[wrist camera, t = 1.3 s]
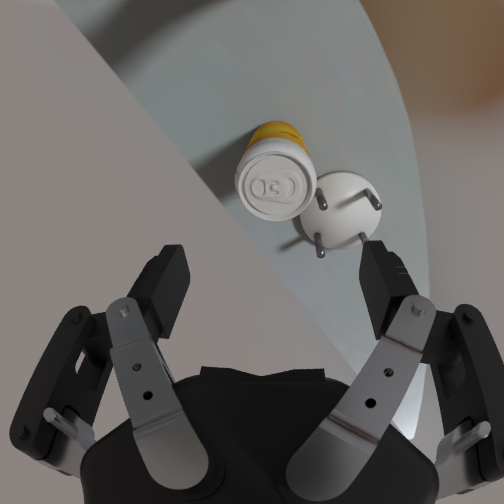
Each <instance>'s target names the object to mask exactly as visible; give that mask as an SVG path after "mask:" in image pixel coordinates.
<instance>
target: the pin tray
mask: <svg viewBox="0 0 504 504" xmlns="http://www.w3.org/2000/svg"><path fill="white" fill-rule="evenodd" d="M381 208H382V205H381V202H380V198H379V196H378V194H377V192H376V190H375V189H374V187H373V186H372V185H371V184H370V183H369V182H368V181H367V180H366V179H365V178H364V177H362V176H360V175H358V174H356V173H353V172H349V171H334V172H330V173H327V174H324V175H322V176H320V177H319V178H317V187H316V192H315V194H314V197H313V199H312V201H311V202H310V204H309V205H308V206H307V207H306V208H305V209H304V210H303V211H302V212H301V213H300V220H301V224H302V227H303V229H304V231H305V233H306V234H307V236H308V237H309V238H310V239H311V240H312V241H314V242H315V247H316V252H317V257H318V258H323V257H324V256H325V251H324V247H325V248H329V249H337V250H340V249H347V248H351V247H354V246H356V245H359V244H360V243H362V244H363V245H364V242H365V241H369V240H368V237H370V236H371V234H372V233H373V232H374V230H375V229H376V227H377V225H378V223H379V220H380V216H381Z"/></svg>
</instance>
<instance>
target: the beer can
mask: <svg viewBox="0 0 504 504" xmlns="http://www.w3.org/2000/svg"><path fill="white" fill-rule="evenodd" d="M316 187H317V177H316V172H315V169H314V167H313V164H312V162H311V159H310V157H309V154H308V152H307V149H306V147H305V145H304V142H303V140H302V137H301V135H300V133H299V132H298V131H297V129H296V128H295V127H293V126H292V125H290V124H288V123H286V122H283V121H270V122H267V123H265V124H263V125H261V126H260V127H259V128H258V129H257V130H256V131H255V133H254V134H253V136H252V138H251V140H250V142H249V144H248V146H247V148H246V150H245V152H244V154H243V156H242V158H241V160H240V163H239V165H238V167H237V169H236V173H235V188H236V192H237V195H238V197H239V199H240V200H241V202H242V203H243V204H244V206H245V207H246V208H247V210H248V211H250V212H251V213H252V214H253V215H255V216H257V217H258V218H261V219H263V220H267V221H274V222H278V221H285V220H289V219H291V218H294V217H296V216H297V215H299V214H300V213H301V212H302V211H303V210H304V209H305V208H306V207H307V206H308V205H309V204H310V202H311V201H312V199H313V197H314V194H315V192H316Z"/></svg>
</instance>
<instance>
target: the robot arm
mask: <svg viewBox="0 0 504 504" xmlns="http://www.w3.org/2000/svg"><path fill="white" fill-rule="evenodd" d="M359 280H360V285H361V288H362V291H363V295H364V298H365V301H366V305H367V308H368V312H369V315H370V319H371V323H372V326H373V330H374V334H375V338H376V340H379V342H378V344H377V345H376V347H375V349H374V350H373V352H372V354H371V355H370V357H369V359H368V360H367V362H366V363H365V365H364V366H363V368H362V369H361V371H360V373H359V374H358V376H357V377H356V379H355V380H354V382H353V383H352V384H351V386H348V385H346V384H344V383H342V382H340V381H337V380H334V379H331V378H327V377H325V373H324V369H294V370H289V371H285V372H281V373H276V374H271V375H266V376H257V375H253V374H250V373H246V372H242V371H238V370H235V369H231V368H217V367H204V366H202V367H201V371H200V375H195V376H191V377H188V378H185V379H182V380H180V381H178V382H175V380H174V378H173V376H172V374H171V372H170V370H169V368H168V366H167V364H166V361H165V359H164V357H163V355H162V353H161V351H160V348H159V346H158V345H157V342H158V339H159V338H165V339H169V337H170V334H171V331H172V328H173V326H174V323H175V320H176V318H177V315H178V313H179V310H180V308H181V305H182V302H183V300H184V297H185V295H186V292H187V289H188V287H189V283H190V272H189V268H188V264H187V260H186V256H185V252H184V249H183V247H182V245H165V246H164V247H163V249H162V250H161V252H160V254H159V255H158V256H154V257H153V258H152V259H151V260H150V261H148V262H147V264H146V265H145V267H144V268H143V271H142V272H141V273H140V275H139V278H137V280H136V281H135V283H134V285H133V286H132V288H131V290H130V292H129V293H128V295H127V297H124V298H120V299H118V300H116V301H114V302H113V303H111V304H110V305H109V307H108V308H107V310H106V312H103V313H97V314H91V312H90V310H89V309H88V308H87V307H86V306H77V307H74V308H72V309H71V310H70V311H68V312H67V314H66V315H65V316H64V318H63V319H62V321H61V323H60V325H59V326H58V328H57V330H56V331H55V333H54V335H53V337H52V338H51V340H50V342H49V344H48V346H47V348H46V350H45V351H44V353H43V355H42V357H41V359H40V361H39V363H38V365H37V367H36V369H35V371H34V373H33V375H32V377H31V379H30V381H29V383H28V386H27V388H26V390H25V392H24V394H23V397H22V399H21V401H20V404H19V406H18V408H17V411H16V413H15V416H14V419H13V421H12V424H11V427H10V433H9V435H10V440H11V442H12V444H13V446H14V447H15V448H17V449H18V450H20V451H22V452H23V453H25V454H27V455H28V456H30V457H31V458H32V459H34V460H36V461H37V462H39V463H41V464H43V465H45V466H47V467H48V468H50V469H53V470H56V471H58V472H61V473H63V474H65V475H68V476H72V475H73V476H75V477H77V478H80V479H81V484H82V488H83V494H84V504H435V501H436V500H438V499H441V498H444V497H447V496H450V495H453V494H465V493H467V492H470V491H473V490H475V489H478V488H480V487H483V486H485V485H488V484H490V483H492V482H494V481H497V480H499V479H501V478H503V477H504V364H503V361H502V359H501V356H500V354H499V351H498V349H497V346H496V344H495V342H494V339H493V337H492V335H491V333H490V330H489V328H488V326H487V324H486V322H485V320H484V318H483V316H482V314H481V312H480V311H479V310H478V309H477V308H475V307H474V306H472V305H469V304H461V305H459V306H457V307H456V309H455V311H454V313H449V312H443V311H438V310H436V309H435V306H434V304H433V303H432V302H431V301H430V300H429V299H427V298H425V297H423V296H420V295H419V293H418V291H417V289H416V287H415V285H414V283H413V281H412V279H411V277H410V275H409V274H408V271H407V269H406V268H405V266H404V264H403V262H402V260H401V258H400V257H398V256H397V255H396V254H395V253H394V252H388V251H387V249H386V247H385V245H384V244H383V242H382V241H381V240H378V241H365V242H364V245H363V251H362V257H361V263H360V269H359ZM81 351H82V352H83V353H84V354H85V357H84V359H83V362H82V364H81V366H80V368H79V370H78V373H77V374H76V371H75V365H76V362H77V360H78V358H79V356H80V353H81ZM419 363H425V364H430V366H431V371H432V375H433V379H434V383H435V387H436V391H437V396H438V401H439V406H440V411H441V417H442V423H443V428H444V436H445V437H443V438H442V440H441V441H440V443H439V445H438V448H437V455H436V461H435V464H433V463H432V462H431V460H430V459H428V458H427V457H426V456H425V455H424V454H423V453H422V452H421V451H419V449H417V448H416V447H415V446H414V445H413V444H412V443H411V442H410V441H409V440H408V439H406V438H405V437H404V436H403V435H402V434H401V433H400V432H399V431H398V430H397V429H396V428H394V427H393V426H392V425H391V424H390V422H391V420H392V418H393V416H394V415H395V413H396V411H397V409H398V407H399V405H400V403H401V401H402V399H403V397H404V395H405V393H406V391H407V389H408V387H409V385H410V383H411V381H412V379H413V377H414V374H415V372H416V370H417V368H418V365H419ZM113 366H114V369H115V373H116V377H117V380H118V383H119V387H120V390H121V393H122V396H123V399H124V402H125V405H126V408H127V411H128V414H129V417H130V418H129V419H127V420H126V421H125V422H123V423H122V424H120V425H119V426H118V427H116V428H115V429H114V430H112V431H111V432H110V433H108V434H107V435H105V436H104V437H103V438H101V439H100V440H99V441H97V442H96V440H95V439H94V438H95V437H94V431H93V429H92V425H93V423H94V419H95V416H96V413H97V410H98V407H99V404H100V401H101V398H102V395H103V393H104V390H105V387H106V384H107V381H108V379H109V376H110V373H111V370H112V368H113Z"/></svg>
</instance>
